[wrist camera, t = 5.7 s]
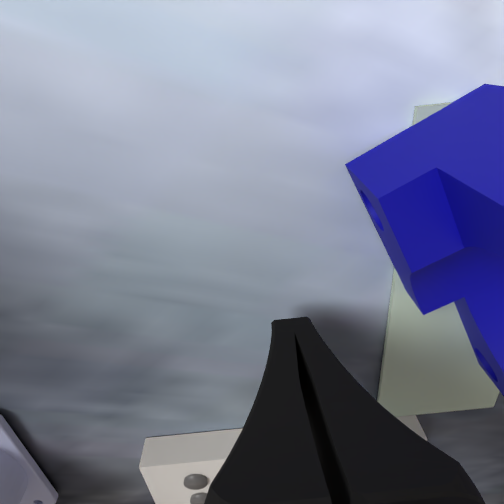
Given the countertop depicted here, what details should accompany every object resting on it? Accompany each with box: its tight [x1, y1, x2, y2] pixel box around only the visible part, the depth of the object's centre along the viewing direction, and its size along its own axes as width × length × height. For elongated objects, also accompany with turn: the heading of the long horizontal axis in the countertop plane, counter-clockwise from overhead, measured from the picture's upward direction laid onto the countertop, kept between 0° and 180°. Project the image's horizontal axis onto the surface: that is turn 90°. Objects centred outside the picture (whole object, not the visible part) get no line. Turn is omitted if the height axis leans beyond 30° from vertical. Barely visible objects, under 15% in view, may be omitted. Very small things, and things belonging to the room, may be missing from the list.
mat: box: [377, 102, 500, 417], centre depth 14 cm, size 6×15×1 cm, turn 5°
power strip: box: [139, 415, 427, 504], centre depth 19 cm, size 14×5×2 cm, turn 95°
